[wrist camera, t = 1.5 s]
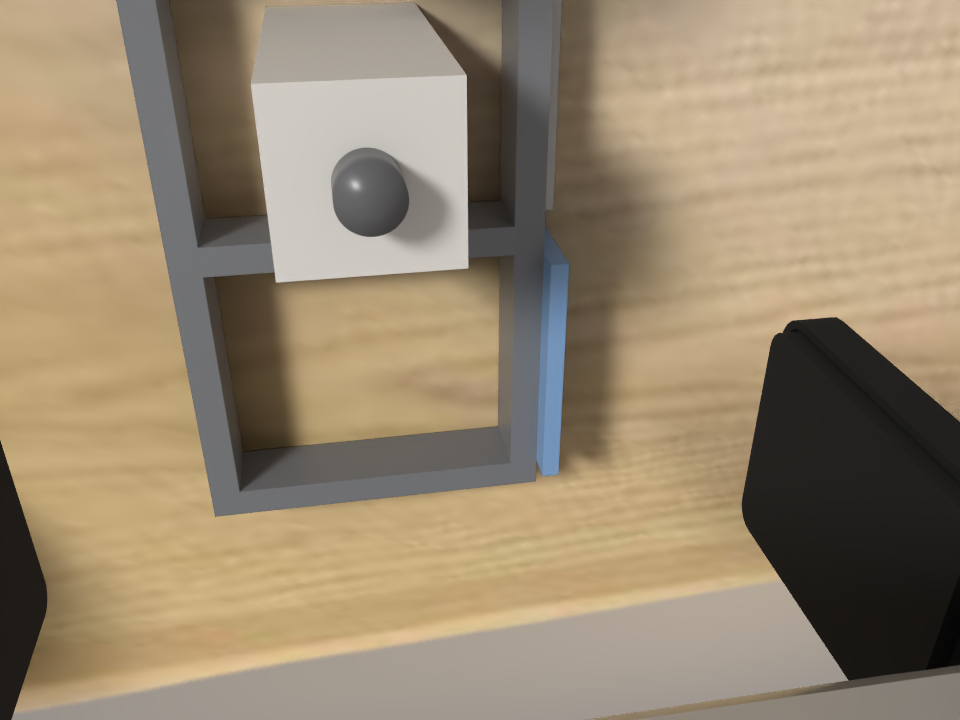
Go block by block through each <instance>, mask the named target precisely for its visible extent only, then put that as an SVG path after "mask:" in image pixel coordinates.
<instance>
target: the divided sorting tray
mask: <svg viewBox="0 0 960 720" xmlns="http://www.w3.org/2000/svg"><path fill="white" fill-rule="evenodd" d="M116 2H117V7H118V12H119V17H120V23H121V28H122V33H123V38H124V44H125V49H126V54H127V59H128V64H129V70H130V75H131V80H132V85H133V90H134V96H135V101H136V106H137V111H138V117H139V122H140V127H141V132H142V137H143V143H144V148H145V153H146V158H147V164H148V169H149V174H150V179H151V184H152V190H153V195H154V200H155V205H156V210H157V216H158V221H159V226H160V231H161V237H162V242H163V247H164V252H165V257H166V263H167V268H168V273H169V278H170V284H171V289H172V294H173V299H174V304H175V310H176V315H177V320H178V325H179V330H180V336H181V341H182V346H183V351H184V357H185V362H186V367H187V372H188V377H189V383H190V388H191V393H192V398H193V403H194V409H195V414H196V419H197V424H198V430H199V435H200V440H201V445H202V450H203V456H204V461H205V466H206V471H207V477H208V482H209V487H210V492H211V497H212V503H213V508H214V513H215V517H216V516H225V515H235V514H244V513H253V512H262V511H271V510H280V509H289V508H298V507H307V506H316V505H325V504H334V503H344V502H353V501H362V500H371V499H380V498H389V497H398V496H407V495H416V494H425V493H434V492H444V491H453V490H462V489H471V488H480V487H489V486H498V485H507V484H516V483H525V482H534V481H536V460H537V463H538V466H539V468H540V471H541V474H542V476H549V475H558V470H559V451H560V432H561V413H562V393H563V374H564V355H565V336H566V317H567V297H568V278H569V263H568V261H567V260H566V258H565V256H564V255H563V253H562V252H561V250H560V249H559V247H558V246H557V244H556V242H555V241H554V239H553V238H552V236H551V235H550V233H549V231H548V230H547V228H546V227H545V212H546V210H553V205H554V180H555V156H556V132H557V107H558V83H559V58H560V34H561V10H562V0H502V86H501V187H500V201H485V202H469V203H468V258H482V257H496V256H500V288H499V388H498V426H497V427H487V428H477V429H467V430H457V431H447V432H437V433H427V434H417V435H407V436H397V437H387V438H377V439H367V440H357V441H347V442H337V443H327V444H317V445H307V446H297V447H287V448H277V449H267V450H257V451H247V452H243V448H242V441H241V435H240V429H239V423H238V417H237V411H236V405H235V399H234V393H233V387H232V381H231V374H230V368H229V362H228V356H227V350H226V344H225V338H224V332H223V326H222V320H221V313H220V307H219V301H218V295H217V289H216V283H215V277H217V276H231V275H245V274H259V273H273V272H275V270H274V263H273V255H272V247H271V239H270V231H269V223H268V215H261V216H245V217H229V218H212V219H205V216H204V210H203V204H202V198H201V192H200V186H199V179H198V173H197V167H196V161H195V155H194V149H193V143H192V137H191V131H190V125H189V118H188V112H187V106H186V100H185V94H184V88H183V82H182V76H181V70H180V64H179V58H178V51H177V45H176V39H175V33H174V27H173V21H172V15H171V9H170V3H169V0H116Z"/></svg>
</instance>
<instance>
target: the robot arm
mask: <svg viewBox="0 0 960 720" xmlns="http://www.w3.org/2000/svg"><path fill="white" fill-rule="evenodd" d="M742 513H743V518H744V521H745V524H746V526H747V528H748V530H749V532H750V533H751V535H752V536H753V538H754V539H755V541H756V542H757V544H758V545H759V547H760V548H761V550H762V551H763V553H764V554H765V556H766V557H767V559H768V560H769V562H770V563H771V565H772V566H773V568H774V569H775V571H776V572H777V574H778V575H779V577H780V578H781V580H782V581H783V583H784V584H785V586H786V587H787V588H788V590H789V592H790V593H791V594H792V596H793V598H794V599H795V601H796V602H797V604H798V605H799V607H800V608H801V610H802V611H803V613H804V614H805V616H806V617H807V619H808V620H809V622H810V623H811V625H812V626H813V628H814V629H815V631H816V632H817V634H818V635H819V637H820V638H821V640H822V641H823V643H824V644H825V646H826V647H827V649H828V650H829V652H830V653H831V655H832V656H833V657H834V659H835V660H836V662H837V664H838V665H839V667H840V668H841V670H842V671H843V673H844V674H845V676H846V677H847V679H848V680H849V681H843V682H836V683H830V684H823V685H816V686H809V687H802V688H796V689H789V690H782V691H775V692H768V693H762V694H754V695H748V696H741V697H735V698H728V699H720V700H715V701H707V702H700V703H693V704H686V705H680V706H673V707H666V708H659V709H653V710H646V711H640V712H633V713H626V714H620V715H613V716H607V717H600V718H594V719H587V720H960V422H959V421H958V420H957V419H956V418H955V417H953V416H952V415H951V414H950V413H949V412H948V411H946V410H945V409H944V408H943V407H942V406H941V405H940V404H938V403H937V402H936V401H935V400H934V399H933V398H931V397H930V396H929V395H928V394H927V393H926V392H924V391H923V390H922V389H921V388H920V387H919V386H917V385H916V384H915V383H914V382H913V381H912V380H910V379H909V378H908V377H907V376H906V375H905V374H904V373H902V372H901V371H900V370H899V369H898V368H897V367H895V366H894V365H893V364H892V363H891V362H890V361H888V360H887V359H886V358H885V357H884V356H883V355H881V354H880V353H879V352H878V351H877V350H876V349H875V348H873V347H872V346H871V345H870V344H869V343H868V342H866V341H865V340H864V339H863V338H862V337H861V336H859V335H858V334H857V333H856V332H855V331H854V330H852V329H851V328H850V327H849V326H848V325H847V324H845V323H844V322H843V321H842V320H840V319H838V318H837V317H835V318H820V319H808V320H796V321H791V322H790V323H788V324H787V326H786V327H785V329H784V331H783V333H778V334H777V335H775V336H774V338H773V340H772V343H771V346H770V352H769V357H768V363H767V368H766V374H765V379H764V384H763V390H762V395H761V401H760V406H759V411H758V417H757V422H756V428H755V433H754V439H753V444H752V449H751V455H750V460H749V466H748V471H747V477H746V482H745V487H744V493H743V498H742ZM46 608H47V589H46V584H45V580H44V576H43V573H42V570H41V567H40V564H39V561H38V558H37V554H36V551H35V548H34V545H33V542H32V539H31V536H30V532H29V529H28V526H27V523H26V520H25V517H24V514H23V510H22V507H21V504H20V501H19V498H18V495H17V492H16V488H15V485H14V482H13V479H12V476H11V473H10V470H9V466H8V463H7V460H6V457H5V454H4V451H3V448H2V444H1V441H0V720H11V719H12V716H13V713H14V710H15V707H16V704H17V701H18V698H19V694H20V691H21V688H22V685H23V682H24V679H25V676H26V673H27V670H28V667H29V664H30V661H31V658H32V654H33V651H34V648H35V645H36V642H37V639H38V636H39V633H40V630H41V627H42V624H43V621H44V618H45V614H46Z"/></svg>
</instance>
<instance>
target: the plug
mask: <svg viewBox="0 0 960 720" xmlns="http://www.w3.org/2000/svg"><path fill="white" fill-rule="evenodd" d="M251 90H252V97H253V105H254V113H255V121H256V129H257V137H258V145H259V152H260V160H261V168H262V176H263V184H264V192H265V200H266V208H267V215H268V223H269V231H270V239H271V247H272V255H273V263H274V270H275V278H276V283H278V282H291V281H305V280H318V279H332V278H345V277H359V276H372V275H386V274H399V273H413V272H426V271H440V270H453V269H467V268H468V170H467V75H466V73H465V72H464V71H463V69H462V68H461V66H460V65H459V64H458V62H457V61H456V60H455V58H454V57H453V55H452V54H451V53H450V51H449V50H448V48H447V47H446V46H445V44H444V43H443V41H442V40H441V39H440V37H439V36H438V35H437V33H436V32H435V30H434V29H433V28H432V26H431V25H430V23H429V22H428V21H427V19H426V18H425V16H424V15H423V14H422V12H421V11H420V10H419V8H418V7H417V5H416V4H415V3H387V4H352V5H318V6H283V7H265V12H264V18H263V23H262V28H261V33H260V39H259V44H258V49H257V54H256V59H255V65H254V70H253V75H252V80H251Z"/></svg>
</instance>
